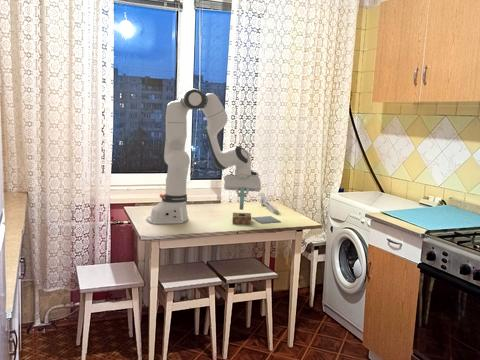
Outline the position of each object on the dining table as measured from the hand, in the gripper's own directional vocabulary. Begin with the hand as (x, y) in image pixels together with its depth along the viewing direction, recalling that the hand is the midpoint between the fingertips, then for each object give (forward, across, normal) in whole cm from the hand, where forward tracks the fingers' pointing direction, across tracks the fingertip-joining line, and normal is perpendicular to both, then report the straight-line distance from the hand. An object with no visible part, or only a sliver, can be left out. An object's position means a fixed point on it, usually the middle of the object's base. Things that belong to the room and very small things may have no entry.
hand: (242, 196), depth 251 cm
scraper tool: (+5, 0, +6) cm, 7 cm away
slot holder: (+10, +1, +11) cm, 15 cm away
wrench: (-14, +18, +35) cm, 42 cm away
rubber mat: (+5, +14, +15) cm, 21 cm away
